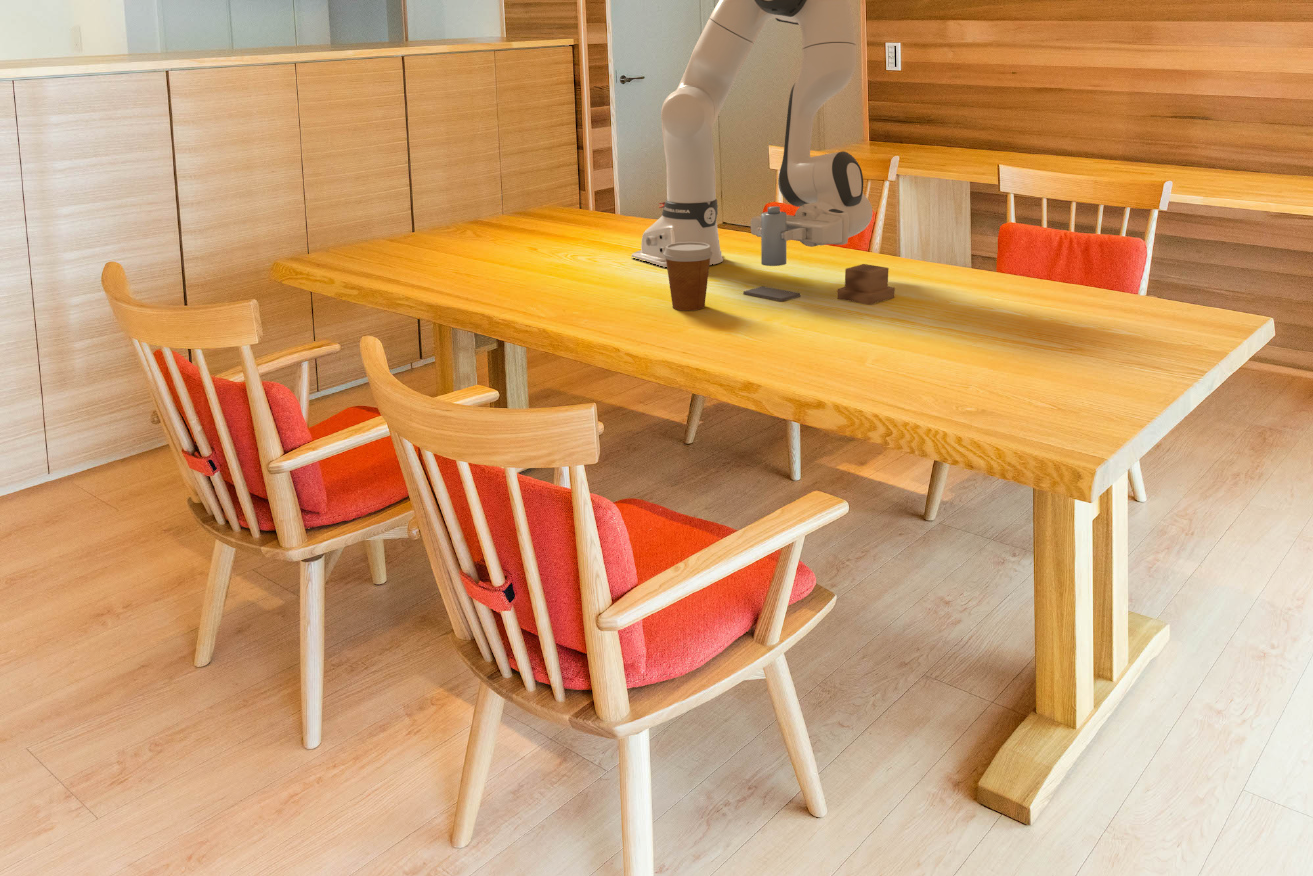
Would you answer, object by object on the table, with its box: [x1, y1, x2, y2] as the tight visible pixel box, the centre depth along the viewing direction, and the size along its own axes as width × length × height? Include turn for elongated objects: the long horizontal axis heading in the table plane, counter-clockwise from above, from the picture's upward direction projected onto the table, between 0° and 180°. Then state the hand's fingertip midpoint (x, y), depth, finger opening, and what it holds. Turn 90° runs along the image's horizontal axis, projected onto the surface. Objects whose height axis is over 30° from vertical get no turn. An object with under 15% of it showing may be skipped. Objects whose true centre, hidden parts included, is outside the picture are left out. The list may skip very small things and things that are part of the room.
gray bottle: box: [760, 205, 787, 267], centre depth 227 cm, size 5×5×11 cm
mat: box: [743, 285, 801, 302], centre depth 231 cm, size 10×6×1 cm, turn 44°
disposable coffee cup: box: [663, 242, 713, 312], centre depth 221 cm, size 10×10×12 cm
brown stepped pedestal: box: [837, 263, 896, 306], centre depth 225 cm, size 8×8×6 cm
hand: (771, 234), depth 226 cm, fingers closed on gray bottle, 5 cm apart
